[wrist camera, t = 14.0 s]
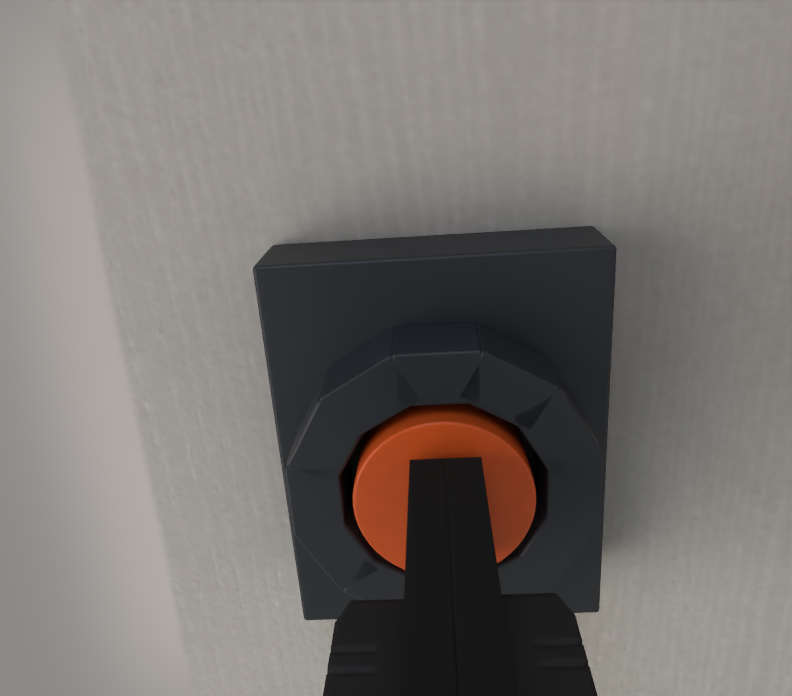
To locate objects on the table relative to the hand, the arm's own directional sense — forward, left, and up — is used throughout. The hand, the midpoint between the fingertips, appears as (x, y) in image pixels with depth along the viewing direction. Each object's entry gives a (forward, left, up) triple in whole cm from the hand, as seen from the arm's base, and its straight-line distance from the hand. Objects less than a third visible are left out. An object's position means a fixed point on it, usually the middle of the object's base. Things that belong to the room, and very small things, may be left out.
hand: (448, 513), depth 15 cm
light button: (0, 0, -2) cm, 2 cm away
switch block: (0, 0, -5) cm, 5 cm away
